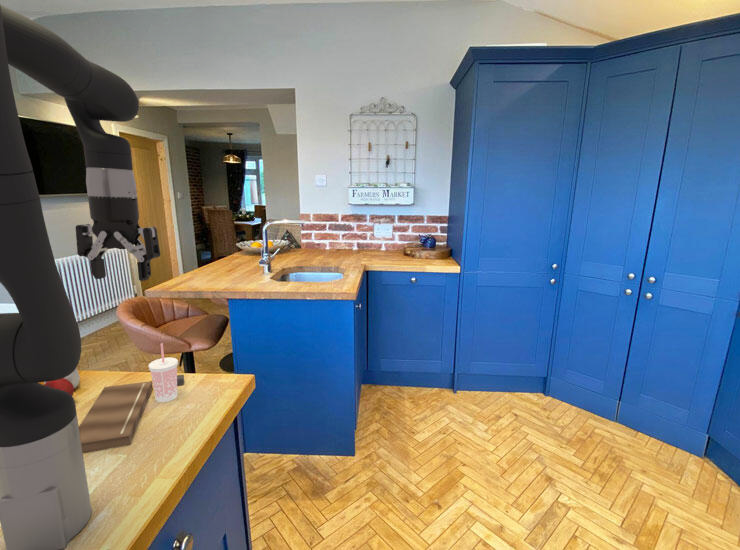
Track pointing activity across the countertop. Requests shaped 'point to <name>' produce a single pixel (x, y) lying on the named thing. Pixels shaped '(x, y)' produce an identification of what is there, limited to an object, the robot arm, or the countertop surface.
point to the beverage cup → (164, 377)
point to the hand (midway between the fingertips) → (122, 279)
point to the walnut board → (115, 415)
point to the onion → (61, 385)
